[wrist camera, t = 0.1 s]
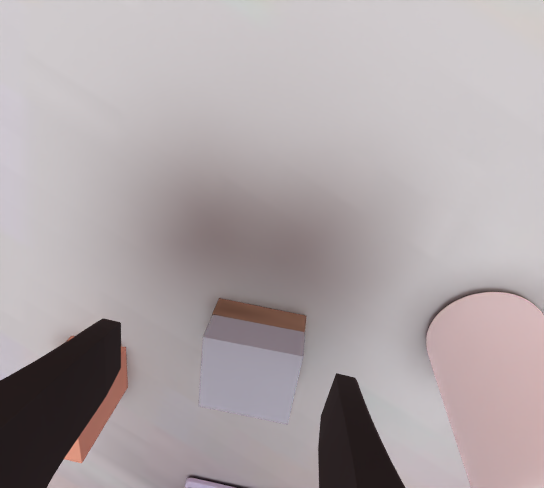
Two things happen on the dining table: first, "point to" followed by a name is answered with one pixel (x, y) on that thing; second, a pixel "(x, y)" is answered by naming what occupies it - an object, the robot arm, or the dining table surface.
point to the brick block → (100, 414)
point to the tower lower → (260, 315)
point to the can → (493, 386)
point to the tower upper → (250, 368)
